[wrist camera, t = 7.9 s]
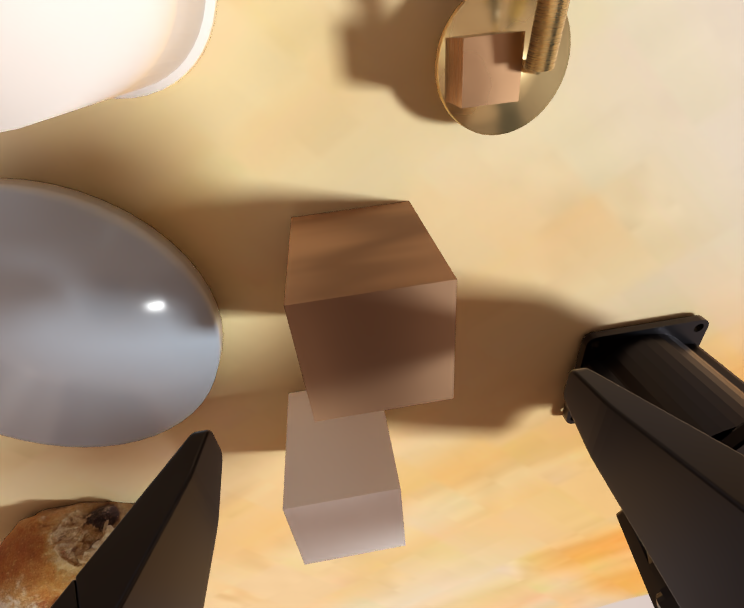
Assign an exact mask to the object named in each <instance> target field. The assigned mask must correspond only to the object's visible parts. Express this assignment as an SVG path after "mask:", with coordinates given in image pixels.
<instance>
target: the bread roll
mask: <svg viewBox="0 0 744 608" xmlns="http://www.w3.org/2000/svg"><path fill="white" fill-rule="evenodd" d="M133 505H134V504H132V503H118V502H112V501H110V502H84V503H78V504H73V505H70V506H63V507H57V508H49V509H46V510H43V511H39V512H38V513H37V514H36V515H35V516H32V517H29V518H26V519H23V520H21V521H19V522H18V524H17V525H16V526H15V527H14V529H13V530H12V531H11V532H10V534H9V535H8V536H7V537H6V538H5V539H4V541H3V542H2V544H1V546H0V608H50V607H51V606H52V604H53V603H54V602H55V601H56V600H57V598H58V597H59V596H60V595H61V594H62V592H63V591H64V590H65V589H66V587H67V586H68V585H69V584H70V582H71V581H72V580H75V577H76V575H77V574H78V573H79V572H80V570H81V569H82V568H83V567H84V565H85V564H86V563H87V562H88V560H89V559H90V558H91V557H92V556H93V554H94V553H95V552H96V551H97V549H98V548H99V547H100V546H101V544H102V543H103V542H104V541H105V540H106V538H107V537H108V536H109V535H110V533H111V532H112V531H113V530H114V528H115V527H116V526H117V525H118V524H119V522H120V521H121V520H122V519H123V517H124V516H125V515H126V514H127V512H128V511H129V510H130V509H131V507H132V506H133ZM117 516H118V517H117Z"/></svg>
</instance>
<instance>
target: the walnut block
mask: <svg viewBox="0 0 744 608" xmlns="http://www.w3.org/2000/svg"><path fill="white" fill-rule="evenodd" d="M456 292H457V279H456V277H455V275H454V274H453V272H452V271H451V269H450V267H449V266H448V264H447V262H446V261H445V259H444V257H443V256H442V254H441V253H440V251H439V249H438V248H437V246H436V244H435V243H434V241H433V239H432V238H431V236H430V235H429V233H428V231H427V230H426V228H425V226H424V225H423V223H422V221H421V220H420V218H419V216H418V215H417V213H416V212H415V210H414V208H413V207H412V205H411V203H410V202H409V201H406V202H398V203H391V204H384V205H377V206H370V207H363V208H356V209H349V210H342V211H334V212H327V213H320V214H313V215H306V216H299V217H292V218H291V228H290V240H289V252H288V263H287V275H286V287H285V299H284V308H285V312H286V315H287V319H288V323H289V327H290V330H291V334H292V338H293V342H294V346H295V349H296V353H297V357H298V361H299V364H300V368H301V372H302V376H303V380H304V383H305V387H306V391H307V395H308V398H309V402H310V406H311V410H312V414H313V417H314V421H315V422H318V421H324V420H330V419H336V418H342V417H348V416H353V415H359V414H365V413H371V412H377V411H383V410H389V409H395V408H401V407H407V406H412V405H418V404H424V403H430V402H436V401H442V400H448V399H453V397H454V362H455V327H456Z"/></svg>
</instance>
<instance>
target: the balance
mask: <svg viewBox="0 0 744 608" xmlns="http://www.w3.org/2000/svg"><path fill="white" fill-rule="evenodd" d="M569 3H570V0H463V1H462V2H461V3H460V5H459V6H458V7H457V8H456V9H455V11H454V12H453V14H452V15H451V17H450V18H449V20H448V22H447V24H446V26H445V28H444V30H443V33H442V35H441V38H440V41H439V44H438V48H437V53H436V59H435V80H436V85H437V90H438V93H439V97H440V99H441V101H442V104H443V106H444V107H445V109H446V110H447V112H448V113H449V114H450V116H451V117H452V118H453V119H454V120H455V121H457V122H458V123H459V124H461V125H462V126H464V127H465V128H467V129H469V130H471V131H473V132H476V133H480V134H484V135H500V134H505V133H508V132H511V131H514V130H516V129H518V128H520V127H522V126H524V125H526V124H527V123H529V122H530V121H531V120H533V119H534V118H535V117H536V116H538V115H539V114H540V113H541V112H542V111H543V110H544V108H545V107H546V106H547V105H548V104H549V102H550V101H551V99H552V98H553V96H554V95H555V93H556V92H557V90H558V88H559V86H560V84H561V82H562V79H563V77H564V74H565V71H566V68H567V65H568V60H569V55H570V45H571V44H570V27H569V22H568V18H567V11H568V7H569Z"/></svg>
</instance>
